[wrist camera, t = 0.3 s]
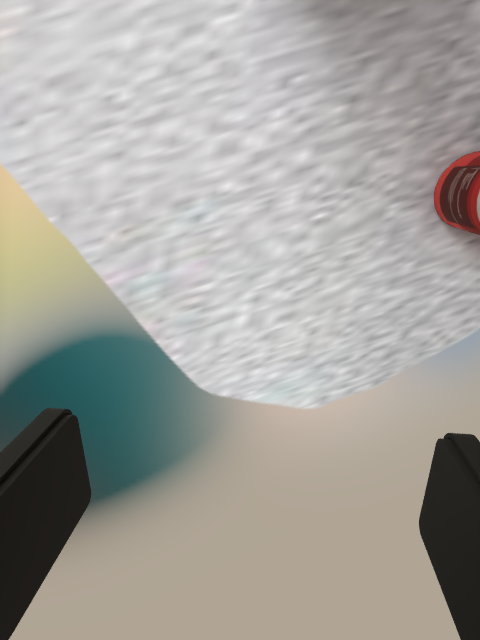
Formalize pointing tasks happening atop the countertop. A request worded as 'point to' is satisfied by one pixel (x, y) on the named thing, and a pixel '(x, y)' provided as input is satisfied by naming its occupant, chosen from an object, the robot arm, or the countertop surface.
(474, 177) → the canned food
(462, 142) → the countertop surface
